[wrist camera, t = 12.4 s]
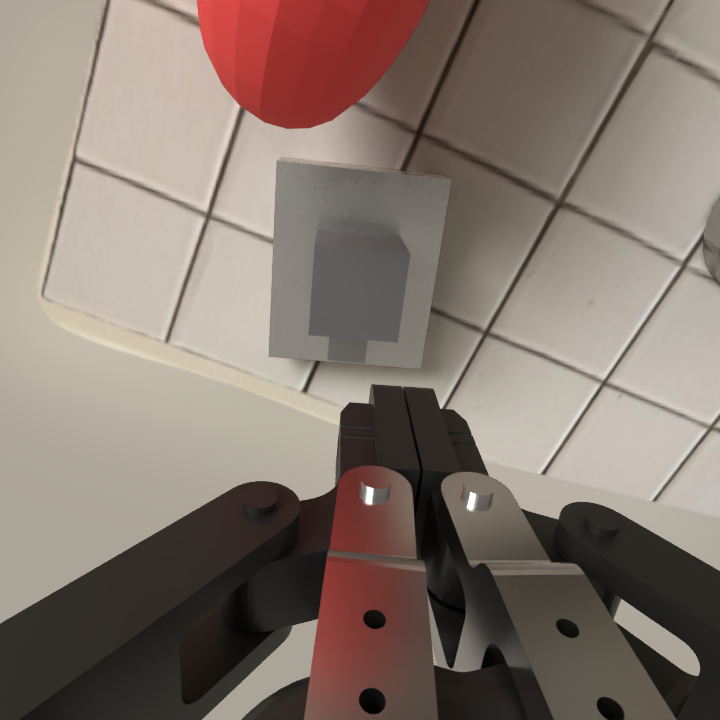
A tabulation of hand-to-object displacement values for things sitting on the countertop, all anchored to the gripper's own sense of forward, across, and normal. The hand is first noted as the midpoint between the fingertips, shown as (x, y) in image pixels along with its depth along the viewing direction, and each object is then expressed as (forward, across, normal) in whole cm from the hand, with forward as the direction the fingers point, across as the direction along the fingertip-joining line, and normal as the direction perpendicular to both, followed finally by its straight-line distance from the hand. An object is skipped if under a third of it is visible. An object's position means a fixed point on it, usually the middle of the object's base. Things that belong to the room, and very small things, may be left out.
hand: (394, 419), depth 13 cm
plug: (+24, 0, +2) cm, 24 cm away
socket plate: (+24, 0, +2) cm, 24 cm away
